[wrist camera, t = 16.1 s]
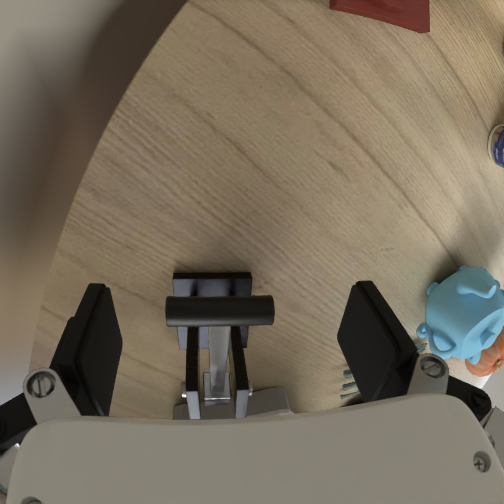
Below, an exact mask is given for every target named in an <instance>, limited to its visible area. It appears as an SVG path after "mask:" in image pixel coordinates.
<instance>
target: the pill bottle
mask: <svg viewBox="0 0 504 504" xmlns="http://www.w3.org/2000/svg"><path fill="white" fill-rule="evenodd" d="M488 152H489V156H490V158H491V160H492V161H493V162H494V163H495V164H497V165H499V166H501V167H503V168H504V125H497V126H496V127H494V129H493V130H492V131H491V133H490V136H489V140H488Z"/></svg>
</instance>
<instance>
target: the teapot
mask: <svg viewBox="0 0 504 504" xmlns="http://www.w3.org/2000/svg"><path fill="white" fill-rule="evenodd" d="M427 295H429V297H428V299H427V302H426V307H425V323H422V324H420V325H419V326H418V327H417V330H416V333H417V335H418V337H420V338H425V337H427V336H428V341H429V346H430V350H431V352H432V354H436V355H437V356H439V357H441V358H442V359H447V358H449V357H451V356H454V357H456V358H459V359H467V358H468V360H469V362H470V363H471V364H473V365H474V364H477V363H478V361H479V360H480V357H481V351H482V350H483V349H487V348H488V347H490V346H491V345H492V344H493V343H494V341H495V340H496V337H497V336H498V335H499V334H500V332H501V330H502V327H503V324H504V291H503V290H501V289H500V283H499V282H498V281H497V280H494V278H493V277H492V275H491V274H490V273H489V272H488V271H487V270H486V269H484V268H482V267H469V268H467V266H466V265H463V266H461V267H460V268H459V269H458V270H457V272H456V273H454V274H452V275H451V276H449V277H448V278H447V279H445V280H444V281H443V282H442V283H440V284H438V283H433V284H431V285H430V286H429V288H428V290H427ZM422 331H426V332H422ZM436 346H437V347H438V348H439V349H441V350H442V351H441V350H438V349H437V347H436Z"/></svg>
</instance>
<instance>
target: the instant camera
mask: <svg viewBox="0 0 504 504" xmlns="http://www.w3.org/2000/svg"><path fill="white" fill-rule="evenodd" d="M288 414H294V413H293V412H292V411H290V407H289V403H288V399H287V395H286V391H285V389H284V387H274V388H269V389H265V390H260V391H256V392H252V396H249V399H248V409H247V417H246V418H255V417H268V416H279V415H288ZM213 419H239V418H235V411H234V402H233V396H231V400H230V405H218V406H205V402H204V401H201V419H190V417H189V411H188V405H187V404H182V405H178V406H174V418H173V419H172V420H213Z"/></svg>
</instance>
